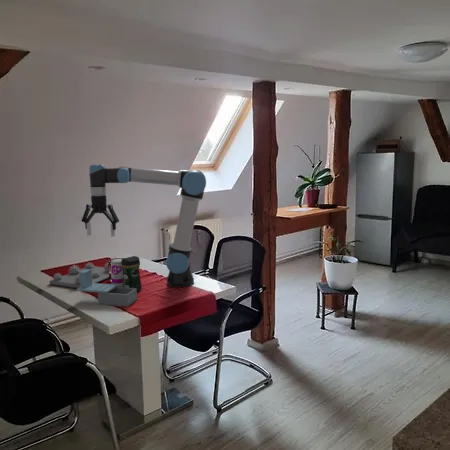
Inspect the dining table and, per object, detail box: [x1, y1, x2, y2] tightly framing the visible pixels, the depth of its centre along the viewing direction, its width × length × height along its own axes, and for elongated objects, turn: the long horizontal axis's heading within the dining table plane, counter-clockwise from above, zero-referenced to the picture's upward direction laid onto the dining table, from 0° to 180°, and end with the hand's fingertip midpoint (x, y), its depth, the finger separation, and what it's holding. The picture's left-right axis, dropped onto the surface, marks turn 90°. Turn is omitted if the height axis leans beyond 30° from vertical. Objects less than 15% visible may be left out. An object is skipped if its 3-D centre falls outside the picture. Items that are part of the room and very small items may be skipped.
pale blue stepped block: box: [76, 269, 117, 293], centre depth 225 cm, size 17×11×9 cm, turn 76°
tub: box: [97, 287, 138, 307], centre depth 224 cm, size 16×10×6 cm, turn 76°
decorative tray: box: [48, 261, 110, 290], centre depth 263 cm, size 35×26×10 cm
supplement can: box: [110, 258, 123, 287], centre depth 248 cm, size 8×8×15 cm
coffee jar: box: [121, 255, 143, 292], centre depth 240 cm, size 10×8×19 cm
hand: (101, 235), depth 234 cm, fingers open, 13 cm apart
